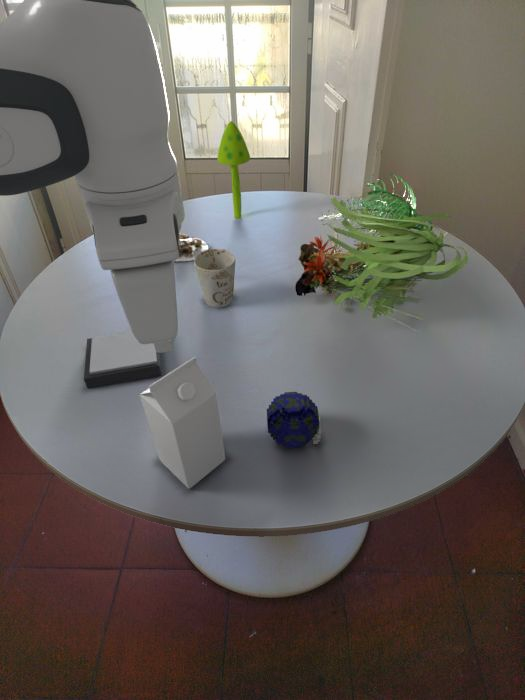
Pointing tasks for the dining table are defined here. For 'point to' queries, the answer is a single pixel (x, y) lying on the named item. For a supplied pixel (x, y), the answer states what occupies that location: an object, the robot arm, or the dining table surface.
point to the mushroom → (233, 160)
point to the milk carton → (185, 422)
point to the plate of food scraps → (190, 247)
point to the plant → (377, 253)
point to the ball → (293, 420)
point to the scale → (119, 360)
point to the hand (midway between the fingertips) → (161, 320)
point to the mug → (216, 276)
